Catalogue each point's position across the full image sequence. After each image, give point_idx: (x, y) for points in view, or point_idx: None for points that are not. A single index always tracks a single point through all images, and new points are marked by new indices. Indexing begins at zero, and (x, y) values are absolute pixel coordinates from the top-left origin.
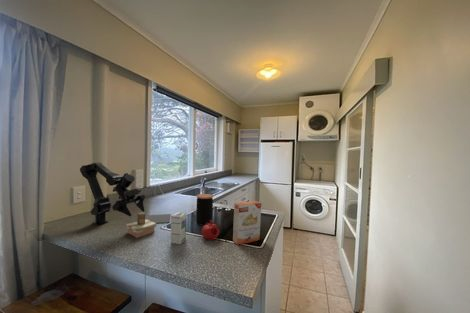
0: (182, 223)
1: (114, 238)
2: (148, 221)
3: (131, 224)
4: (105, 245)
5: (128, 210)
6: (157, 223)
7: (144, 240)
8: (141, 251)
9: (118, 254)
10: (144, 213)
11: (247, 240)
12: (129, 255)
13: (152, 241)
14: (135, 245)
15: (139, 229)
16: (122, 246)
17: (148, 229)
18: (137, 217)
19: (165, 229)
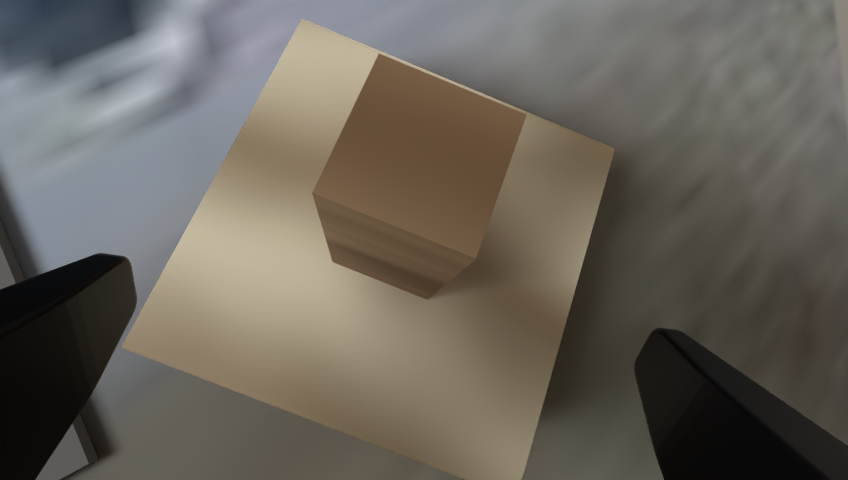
0: None
1: (651, 468)
2: (258, 182)
3: (486, 384)
4: (804, 411)
5: (832, 473)
6: (6, 240)
7: (554, 95)
8: (720, 5)
9: (838, 148)
10: (399, 67)
11: None
12: (804, 56)
13: (542, 12)
14: (669, 114)
15: (568, 139)
16: (736, 219)
17: None
18: (452, 275)
19: (214, 26)
